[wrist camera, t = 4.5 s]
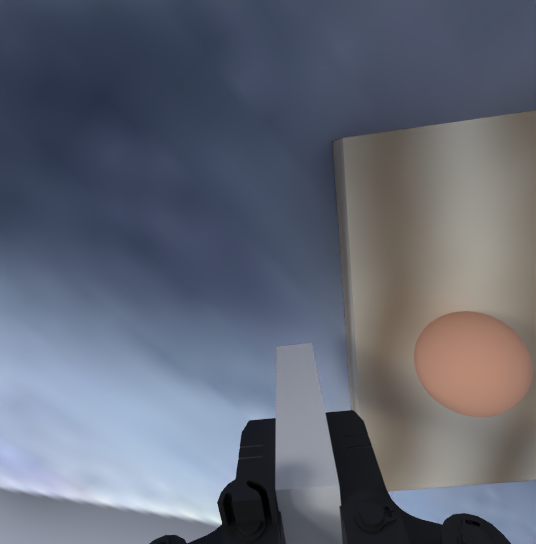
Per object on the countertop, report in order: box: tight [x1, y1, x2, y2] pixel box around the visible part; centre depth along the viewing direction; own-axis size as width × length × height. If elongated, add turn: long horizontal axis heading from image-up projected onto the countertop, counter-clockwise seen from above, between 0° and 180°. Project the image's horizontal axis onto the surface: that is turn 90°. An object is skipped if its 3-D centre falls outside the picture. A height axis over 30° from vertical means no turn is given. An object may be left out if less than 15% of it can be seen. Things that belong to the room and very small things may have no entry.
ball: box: [414, 311, 533, 417], centre depth 14 cm, size 4×4×4 cm
